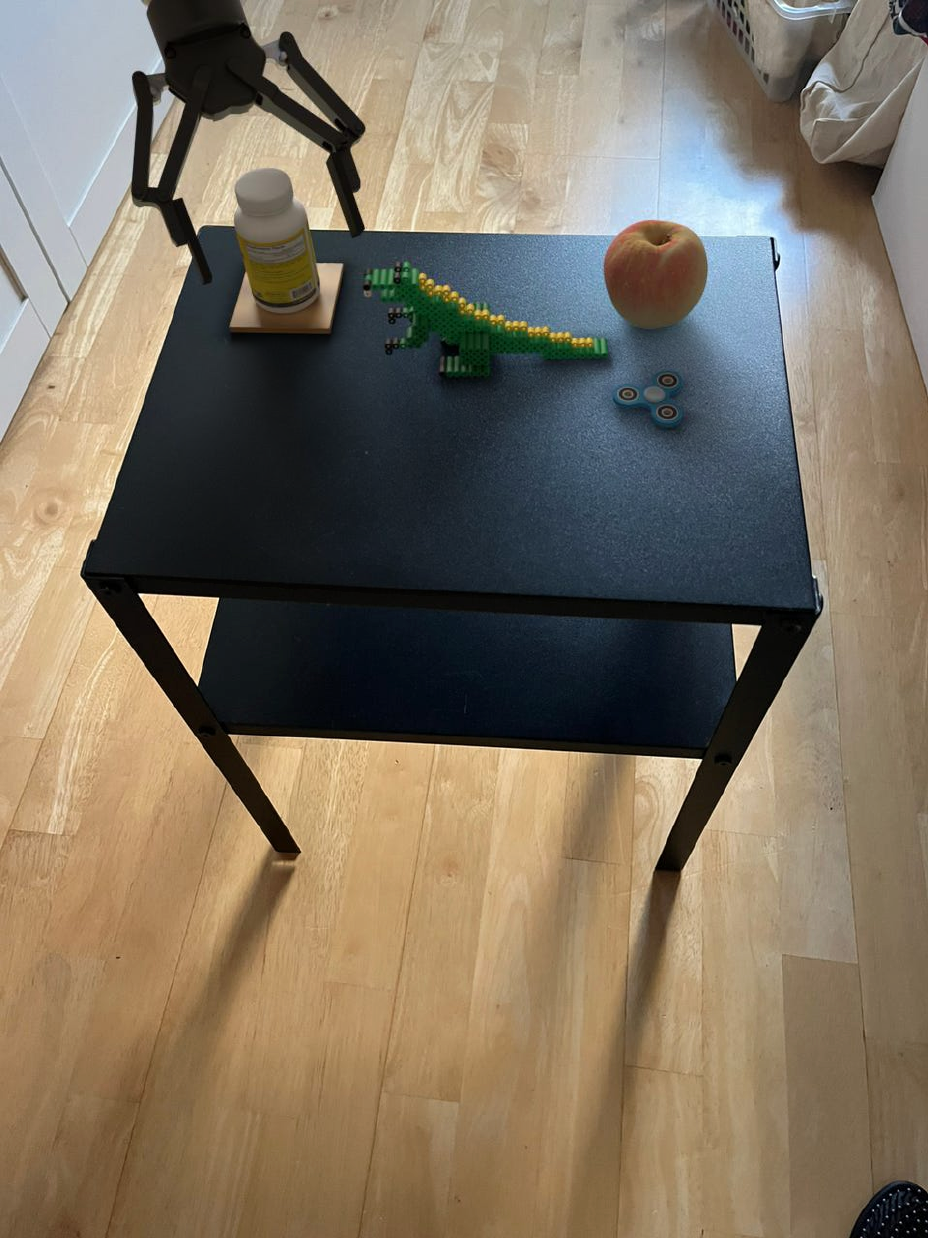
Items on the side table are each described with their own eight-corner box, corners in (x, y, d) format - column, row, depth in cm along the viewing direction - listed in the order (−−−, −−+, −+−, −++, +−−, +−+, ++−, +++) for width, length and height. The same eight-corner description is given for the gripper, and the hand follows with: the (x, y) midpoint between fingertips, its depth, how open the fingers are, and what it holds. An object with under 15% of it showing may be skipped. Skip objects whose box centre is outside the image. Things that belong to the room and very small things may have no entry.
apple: (609, 350, 89) (617, 272, 82) (592, 284, 94) (598, 205, 87) (710, 340, 89) (726, 261, 82) (688, 274, 94) (701, 195, 87)
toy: (613, 373, 87) (614, 364, 86) (681, 377, 87) (683, 368, 86) (610, 426, 84) (611, 417, 83) (681, 430, 83) (682, 421, 82)
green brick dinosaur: (605, 328, 90) (613, 241, 83) (609, 374, 87) (617, 288, 80) (377, 332, 92) (365, 247, 84) (372, 378, 88) (359, 293, 81)
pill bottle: (268, 267, 96) (242, 157, 87) (330, 276, 95) (311, 165, 86) (242, 311, 93) (212, 200, 84) (307, 321, 92) (284, 210, 83)
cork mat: (330, 333, 92) (329, 328, 91) (230, 332, 92) (229, 326, 92) (344, 268, 97) (343, 263, 96) (249, 267, 97) (248, 262, 97)
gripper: (326, -22, 90) (409, 224, 94) (40, 52, 85) (143, 309, 89) (339, -66, 83) (428, 203, 87) (28, 13, 78) (140, 294, 82)
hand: (284, 257), depth 88 cm, fingers open, 13 cm apart
